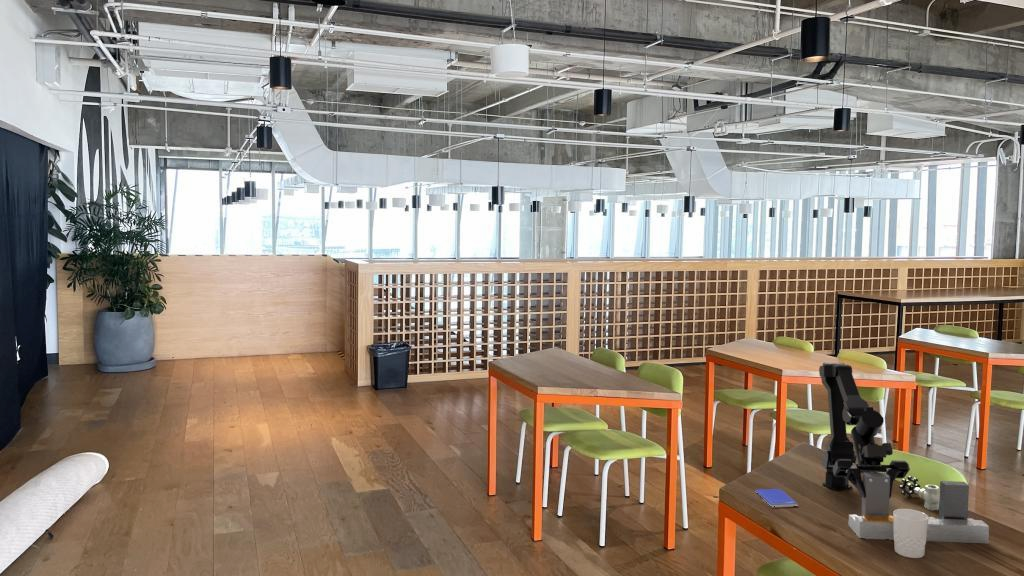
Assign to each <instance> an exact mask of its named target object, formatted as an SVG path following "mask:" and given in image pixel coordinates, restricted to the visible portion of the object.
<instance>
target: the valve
mask: <svg viewBox="0 0 1024 576" xmlns="http://www.w3.org/2000/svg"><path fill="white" fill-rule="evenodd" d="M901 482H902V484H900V485H899V486H898V488H899V489H900V490H902V491H901V493H900V494H901V495H902V496H906V497H907V496H908V497H907V498H909V497H910V498H912V497H913V496H912V495H916V496H917V495H918V496H919V498H921V499H923V500H924V502H923V503H924V504H923V507H925V508H924V509H926V508H927V509H926V510H928V511H934V510H937V511H939V501H940V486H938V485H934V484H926V485H925V486H924V488H921V485H920V484H919V483H917V482H919V479H918V478H917V477H913V476H912V475H907V479H905V478H901ZM910 482H911V483H910ZM906 488H907V489H908V490H909V491H907V490H906Z"/></svg>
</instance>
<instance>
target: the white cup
mask: <svg viewBox="0 0 1024 576" xmlns="http://www.w3.org/2000/svg"><path fill="white" fill-rule="evenodd" d="M892 513H893V514H892V516H893V533H894V540H893V542H894V543H893V544H894V545H893V546H894V547H893V548H894V552H895V553H896V554H898V555H900V556H902V557H905V558H911V559H920V558H923V557H925V551H926V543H927V541H926V537H927V527H928V517H929V515H927V514H926V513H925V512H922V511H920V510H915V509H912V508H897V509H894V510H893V512H892Z"/></svg>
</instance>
